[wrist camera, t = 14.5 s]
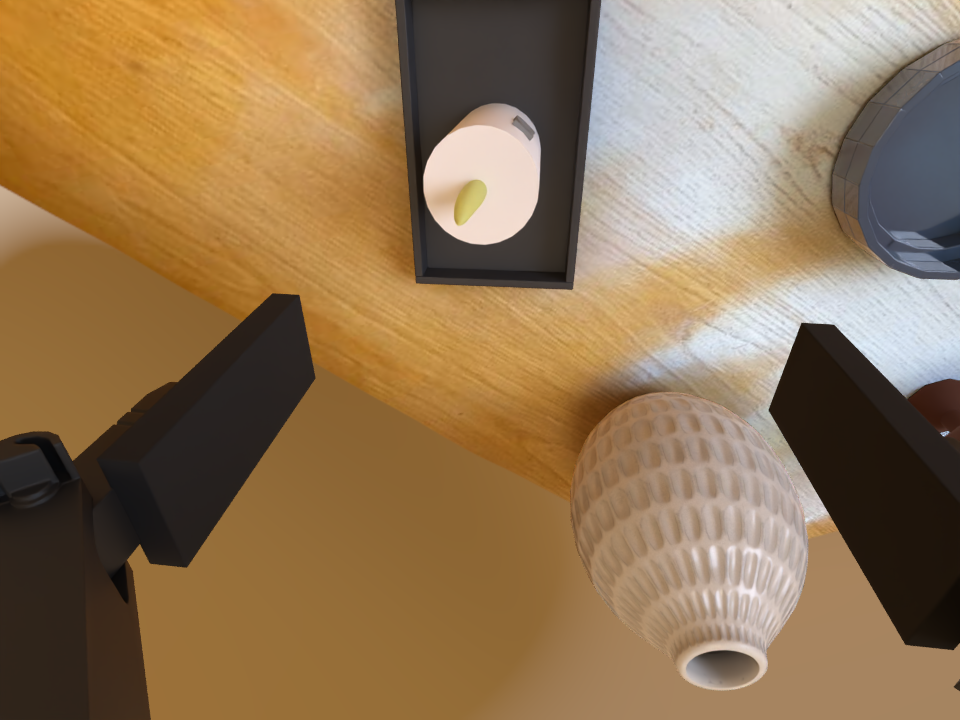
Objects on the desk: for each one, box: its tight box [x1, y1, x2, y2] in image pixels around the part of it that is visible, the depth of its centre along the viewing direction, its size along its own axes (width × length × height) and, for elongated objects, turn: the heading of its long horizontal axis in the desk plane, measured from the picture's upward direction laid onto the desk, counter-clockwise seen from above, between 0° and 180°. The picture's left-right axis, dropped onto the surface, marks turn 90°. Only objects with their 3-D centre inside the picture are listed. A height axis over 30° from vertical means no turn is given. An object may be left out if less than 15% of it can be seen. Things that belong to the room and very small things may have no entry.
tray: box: [395, 0, 601, 290], centre depth 36 cm, size 19×12×2 cm, turn 0°
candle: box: [423, 103, 541, 245], centre depth 31 cm, size 6×6×15 cm
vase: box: [570, 392, 808, 690], centre depth 39 cm, size 16×16×22 cm
